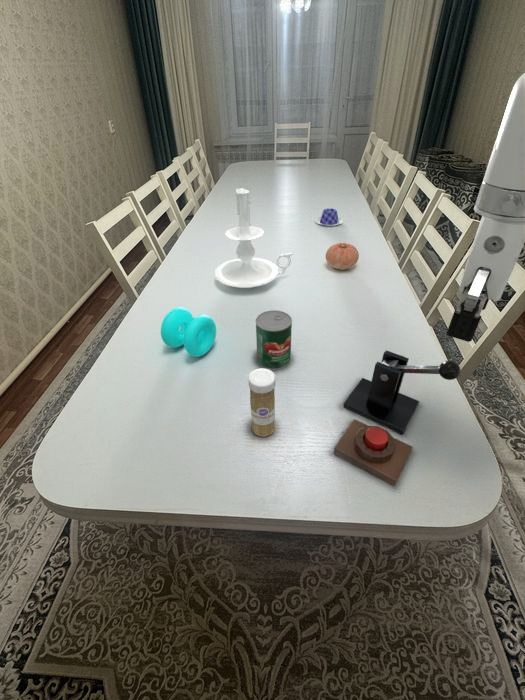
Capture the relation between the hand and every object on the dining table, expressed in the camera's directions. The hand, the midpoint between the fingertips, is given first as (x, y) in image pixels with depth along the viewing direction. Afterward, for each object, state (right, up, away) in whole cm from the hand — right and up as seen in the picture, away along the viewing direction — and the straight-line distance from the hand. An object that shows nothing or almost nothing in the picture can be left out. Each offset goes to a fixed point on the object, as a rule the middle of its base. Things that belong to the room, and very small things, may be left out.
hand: (466, 321), depth 53 cm
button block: (-11, -22, +11) cm, 27 cm away
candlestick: (-33, +18, +63) cm, 73 cm away
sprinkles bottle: (-30, -19, +16) cm, 39 cm away
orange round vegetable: (-3, +24, +69) cm, 73 cm away
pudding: (-1, +51, +103) cm, 115 cm away
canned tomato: (-27, -6, +32) cm, 42 cm away
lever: (-2, -9, +10) cm, 14 cm away
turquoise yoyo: (-47, -4, +36) cm, 59 cm away
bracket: (-6, -15, +19) cm, 25 cm away
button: (-11, -20, +9) cm, 24 cm away
